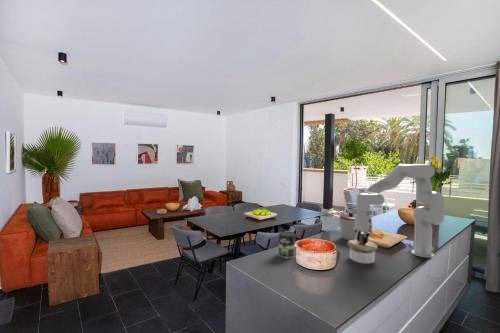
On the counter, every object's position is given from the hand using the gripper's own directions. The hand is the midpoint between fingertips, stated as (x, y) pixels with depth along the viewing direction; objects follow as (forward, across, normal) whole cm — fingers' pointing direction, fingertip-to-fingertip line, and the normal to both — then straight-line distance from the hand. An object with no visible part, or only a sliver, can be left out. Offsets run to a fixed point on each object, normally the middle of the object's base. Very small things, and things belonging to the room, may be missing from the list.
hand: (362, 241), depth 163 cm
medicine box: (+11, +14, -18) cm, 25 cm away
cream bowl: (+11, 0, 0) cm, 11 cm away
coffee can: (+11, +27, +38) cm, 48 cm away
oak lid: (+2, 0, 0) cm, 2 cm away
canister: (+11, +31, -27) cm, 43 cm away
